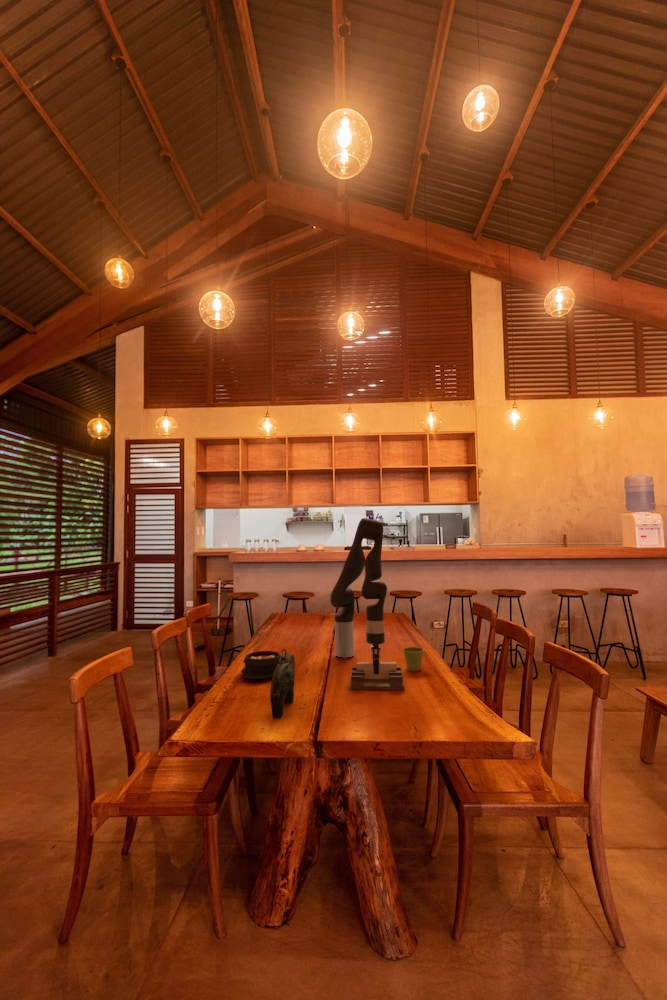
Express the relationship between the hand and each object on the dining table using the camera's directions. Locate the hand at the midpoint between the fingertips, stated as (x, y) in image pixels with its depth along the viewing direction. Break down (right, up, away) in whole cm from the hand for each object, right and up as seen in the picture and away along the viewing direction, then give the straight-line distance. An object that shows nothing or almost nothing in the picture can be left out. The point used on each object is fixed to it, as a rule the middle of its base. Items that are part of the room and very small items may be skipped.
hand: (376, 671), depth 194 cm
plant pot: (+18, -5, +16) cm, 25 cm away
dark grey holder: (0, -4, -4) cm, 5 cm away
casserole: (-48, -6, +13) cm, 50 cm away
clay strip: (0, -3, 0) cm, 3 cm away
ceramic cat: (-35, -3, -28) cm, 45 cm away
